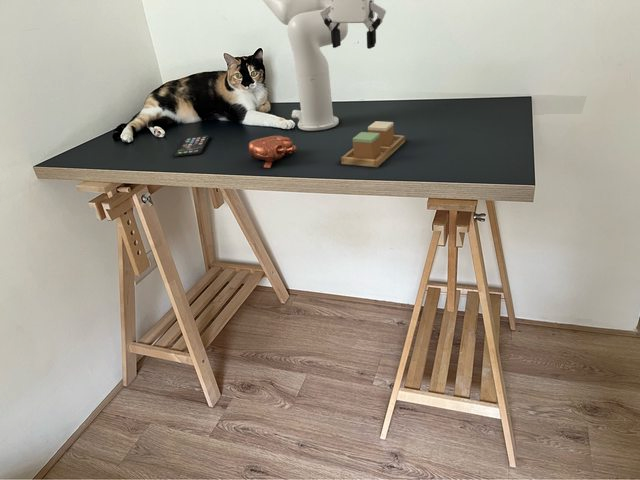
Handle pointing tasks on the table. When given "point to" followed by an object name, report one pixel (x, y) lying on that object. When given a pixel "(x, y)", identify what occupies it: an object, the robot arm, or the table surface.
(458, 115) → the table surface
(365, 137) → the pad sage
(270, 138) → the heart
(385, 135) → the pad cream
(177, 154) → the smartphone
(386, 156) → the wooden divided tray
